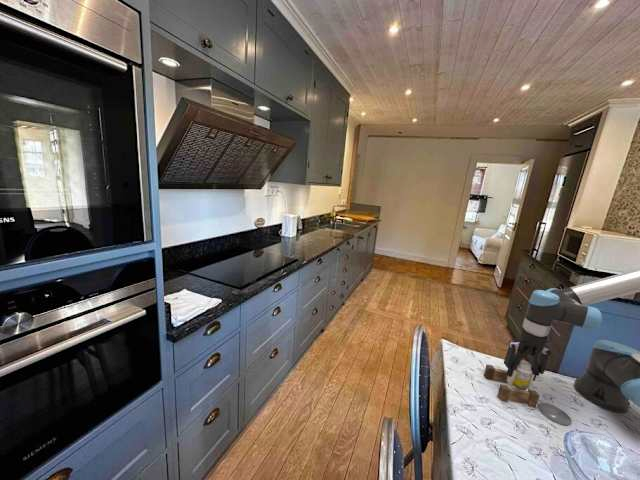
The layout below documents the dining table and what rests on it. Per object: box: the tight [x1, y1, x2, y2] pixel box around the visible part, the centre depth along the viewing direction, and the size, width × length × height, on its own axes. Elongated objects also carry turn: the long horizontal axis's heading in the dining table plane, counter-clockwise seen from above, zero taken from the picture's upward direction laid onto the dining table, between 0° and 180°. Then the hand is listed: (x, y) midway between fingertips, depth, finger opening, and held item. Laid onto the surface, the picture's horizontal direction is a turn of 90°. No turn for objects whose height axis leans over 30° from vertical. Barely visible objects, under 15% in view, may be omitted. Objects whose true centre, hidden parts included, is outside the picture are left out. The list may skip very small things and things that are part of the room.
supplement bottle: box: [512, 359, 532, 391], centre depth 101 cm, size 6×6×10 cm
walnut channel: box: [483, 363, 540, 409], centre depth 102 cm, size 12×14×5 cm
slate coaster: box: [537, 402, 573, 427], centre depth 93 cm, size 9×9×1 cm
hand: (518, 384), depth 102 cm, fingers closed on supplement bottle, 6 cm apart
